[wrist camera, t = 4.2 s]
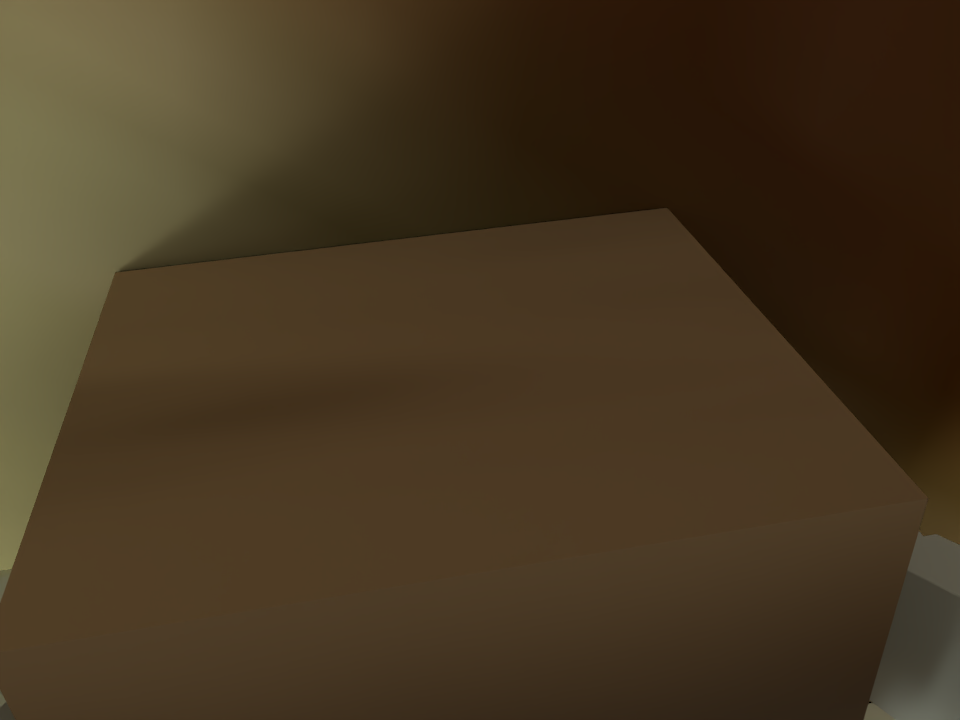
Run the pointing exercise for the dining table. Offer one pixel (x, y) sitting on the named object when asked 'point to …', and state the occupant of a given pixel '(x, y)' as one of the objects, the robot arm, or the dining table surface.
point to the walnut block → (455, 495)
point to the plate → (876, 713)
